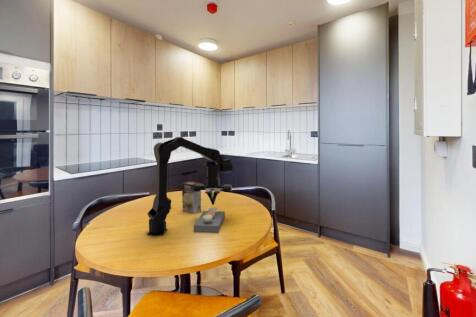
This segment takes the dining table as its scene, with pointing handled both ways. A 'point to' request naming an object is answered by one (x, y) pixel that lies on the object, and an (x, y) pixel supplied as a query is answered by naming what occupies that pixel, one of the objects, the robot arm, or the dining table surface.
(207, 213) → the button terracotta
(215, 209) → the button offwhite
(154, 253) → the dining table surface
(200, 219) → the button panel
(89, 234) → the dining table surface
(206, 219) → the button sage
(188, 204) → the coffee box
